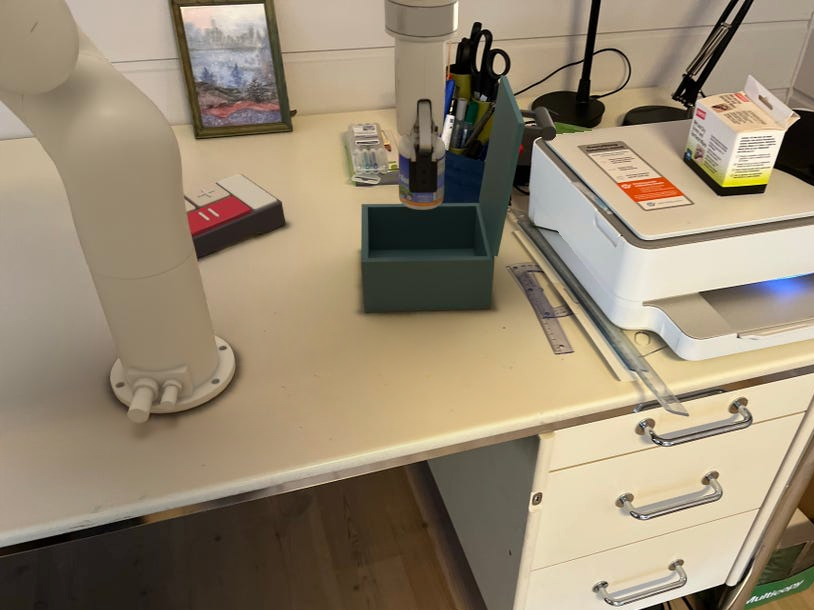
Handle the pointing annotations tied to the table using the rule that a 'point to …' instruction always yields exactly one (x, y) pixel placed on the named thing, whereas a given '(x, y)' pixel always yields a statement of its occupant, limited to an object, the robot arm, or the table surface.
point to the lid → (506, 157)
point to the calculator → (230, 212)
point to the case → (425, 258)
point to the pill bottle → (406, 197)
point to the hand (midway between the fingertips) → (421, 177)
